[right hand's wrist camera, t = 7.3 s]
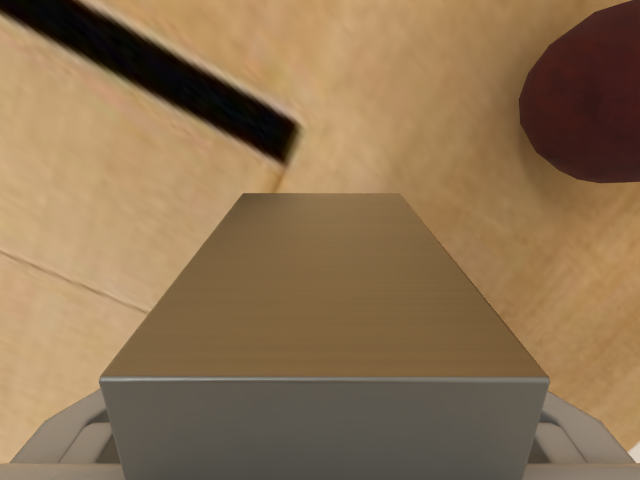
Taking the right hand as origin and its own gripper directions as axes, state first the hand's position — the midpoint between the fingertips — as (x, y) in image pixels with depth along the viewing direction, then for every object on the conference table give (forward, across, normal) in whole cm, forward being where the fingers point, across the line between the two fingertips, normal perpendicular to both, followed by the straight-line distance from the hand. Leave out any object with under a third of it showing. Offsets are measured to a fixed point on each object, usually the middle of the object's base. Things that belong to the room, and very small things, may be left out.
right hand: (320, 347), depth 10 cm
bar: (+3, 0, +9) cm, 10 cm away
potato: (+12, -13, -6) cm, 19 cm away
